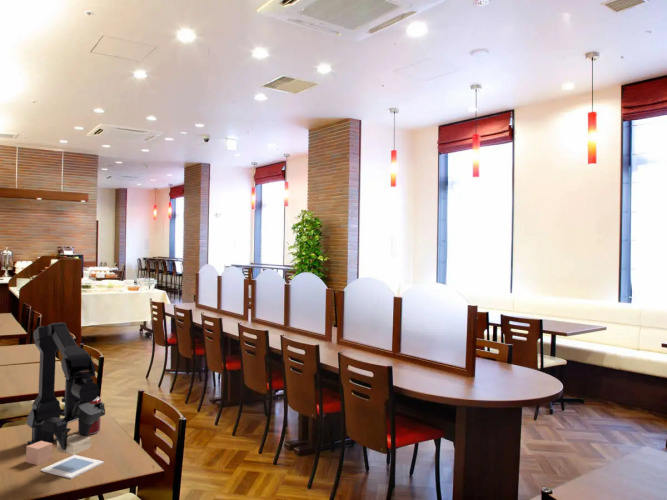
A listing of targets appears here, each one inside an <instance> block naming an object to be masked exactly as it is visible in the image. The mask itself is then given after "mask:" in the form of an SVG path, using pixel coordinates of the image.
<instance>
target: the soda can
mask: <svg viewBox="0 0 667 500" xmlns="http://www.w3.org/2000/svg"><path fill="white" fill-rule="evenodd" d="M99 402H102V398H101V397H100V396H99V395H98V396H97V398H96V399H95V400H93V401H91V402H90V404H95V405H96V404H97V403H99ZM101 417H102V416H101ZM101 417H99V420H98V421H95V422H94V423H93V424H92V425H91V427H90V430H89V432H88V435H87V436H90V435H95V434H98V433H99V432H100V431H101V420H102V419H101ZM77 433H78V434H79V433H80V431H79V422H77Z"/></svg>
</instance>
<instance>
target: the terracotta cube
mask: <svg viewBox="0 0 667 500" xmlns="http://www.w3.org/2000/svg"><path fill="white" fill-rule="evenodd" d="M53 444H54V443H53V442H51V443H48V442H44V441H39V442H36V443H34V444H27V445H26V452H25V463H28V464H32V465H36V466H39V465H42V464H44V463H46V462H49V461H51V460H53V446H54V445H53Z"/></svg>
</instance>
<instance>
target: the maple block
mask: <svg viewBox="0 0 667 500" xmlns="http://www.w3.org/2000/svg"><path fill="white" fill-rule="evenodd" d="M91 443H92V438H91V437H90V436H87V437H86V436H81V435H80V434H72V435H68V436H67V447H66V450H62V448H61V446H60V444H59V442H58V440H56V452H57V453H58V452H60V453H63V454H67V455H71V456H73V455H78V453H81V452H83V451H86V450H88V449H90V448H91V445H92V444H91Z"/></svg>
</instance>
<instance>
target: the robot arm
mask: <svg viewBox="0 0 667 500" xmlns="http://www.w3.org/2000/svg"><path fill="white" fill-rule="evenodd" d="M32 335H33V340H34V345H35V347H36V348H37V349H38V352H39V367H38V368H39V370H38V372H39V373H38V374H39V375H38V394H37V395H36V398H35V399H34V400H33V402H32V407H31V410H30V412H29V413H28V415H27V418H26V423H27V424H26V425H27V426H29V428H30V429H32V431H31V440H29V441H27V445H31V444H34V443H36V442H39V441H44V442H48V443H53V442H57V441H58V442H59V444H60V446H61V448H62V450H66V447H67V437H68V433H69V432H70V431H71V430H72V429H71V428H70V427H68V424H70V423H73V422H75V421H78V422H79V431H80V434H79V435H81V436H86V437H88V436H89V435H88V432H89V430H90V427H91V425H92V424H93V423H94V422H95V421H98V420H99V417H103V416H105V415H106V408H105V403H104V402H103V401H101V402H99V403H97V404H96V405H95V404H90V402H91V401H93V400H95V399H96V398H97V396H98V397H99V394H100V388H99V385H98V384H97V383H95V382H94V378H93V377H96V370H97V369H96V367H95V364H94V361H93V359H92V356H91V355H90V354H89V353H88V351H87V350H86V349H85V348H81V347H79V346H78V345H77V343H76V341H75V339H74V338H73V336H72V334H71V333H70V330H69V329H68V324H67V323H66V322H54V323H51V324H48V325H43V326H38V327H37V328H35V329H34V331H33V334H32ZM58 350H59V353H60V354H61V356H62V359H61V362H60V363H61V369H62V372H63V375H64V378H65V384H64V385H65V388H64V397H63V398H61V402H60V401H59V400H58V398H57V396H56V395H55V381H56V359H57V358H56V357H57V354H56V353H57V352H58ZM61 403H64V411H62V408H61ZM61 416H62V417H63V418H62V417H61ZM78 422H77V423H78Z"/></svg>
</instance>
